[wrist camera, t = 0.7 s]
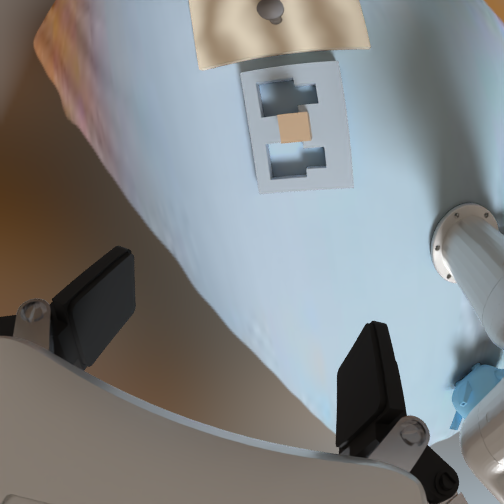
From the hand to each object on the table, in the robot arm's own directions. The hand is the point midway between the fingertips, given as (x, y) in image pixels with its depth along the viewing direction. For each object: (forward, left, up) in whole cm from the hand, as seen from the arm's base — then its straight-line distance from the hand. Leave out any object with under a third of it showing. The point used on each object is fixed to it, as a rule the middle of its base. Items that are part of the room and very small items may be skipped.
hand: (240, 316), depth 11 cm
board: (0, -25, -29) cm, 39 cm away
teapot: (-37, +43, -29) cm, 64 cm away
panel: (-1, -6, -29) cm, 30 cm away
